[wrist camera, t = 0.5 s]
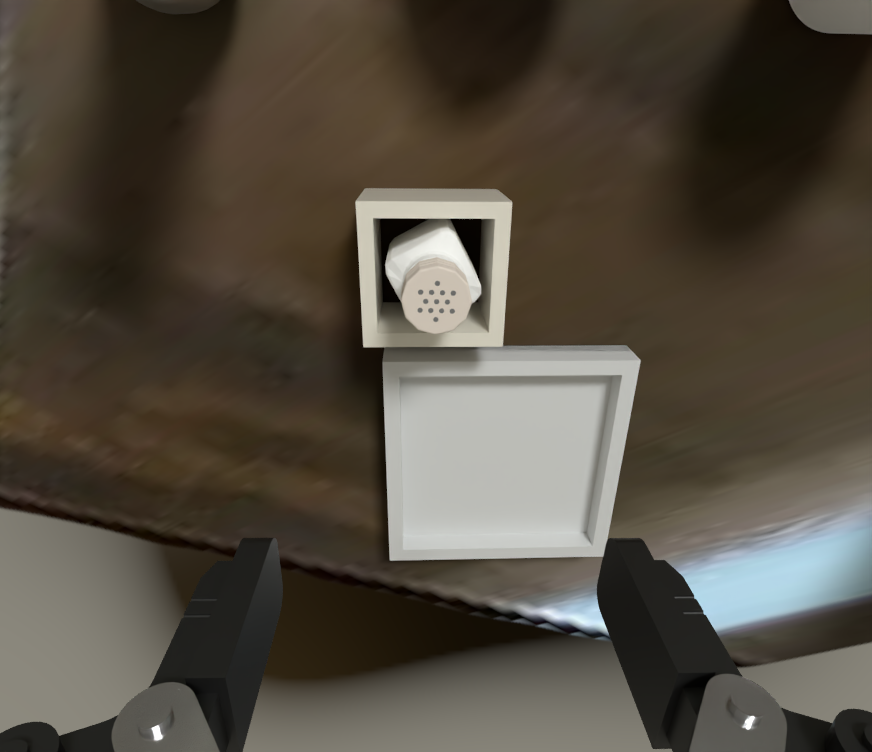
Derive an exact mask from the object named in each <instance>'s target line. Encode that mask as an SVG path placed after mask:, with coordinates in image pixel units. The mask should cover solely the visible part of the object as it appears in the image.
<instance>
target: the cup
mask: <svg viewBox="0 0 872 752" xmlns="http://www.w3.org/2000/svg"><path fill="white" fill-rule="evenodd" d="M789 3H790V5H791V7H792V9H793V11H794V13H795V14H796V16H797V17H798V18H799V19H800V20H801V21H802V22H803V23H804V24H805V25H806V26H808V27H810V28H811V29H813V30H816V31H819V32H823V33H834V34H872V0H789Z"/></svg>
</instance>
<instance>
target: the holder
mask: <svg viewBox="0 0 872 752" xmlns="http://www.w3.org/2000/svg"><path fill="white" fill-rule="evenodd" d="M511 214H512V201H511V200H509V199H508V198H507V197H506V196H505V195H503V194H502V193H501V192H500V191H498V190H497V189H381V188H365V189H364V191H363V192H362V193H361V195H360V196H359V197H358V199H357V200H356V218H357V237H358V256H359V275H360V294H361V313H362V332H363V347H503V334H504V319H505V304H506V289H507V274H508V259H509V244H510V229H511ZM380 218H421V219H482V224H481V247H480V270H479V282H480V284H481V295H480V296H479V297H478V302H474V303H472V304H471V307H470V310H469V313H468V315H467V318H466V320H465V321H463V322H462V323H461V324H460V325H459V326H458V327H457V328H455V329H454V330H453V331H450V332H445V333H441V334H436V335H434V334H431V333H427V332H424V331H420V330H417V329H416V328H415V327H414V326H413V325H412V324H411V323H410V322H409V321H408V320H407V319H406V318H405V315H404V311H403V307H402V303H401V302H383V288H382V258H381V229H380Z"/></svg>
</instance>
